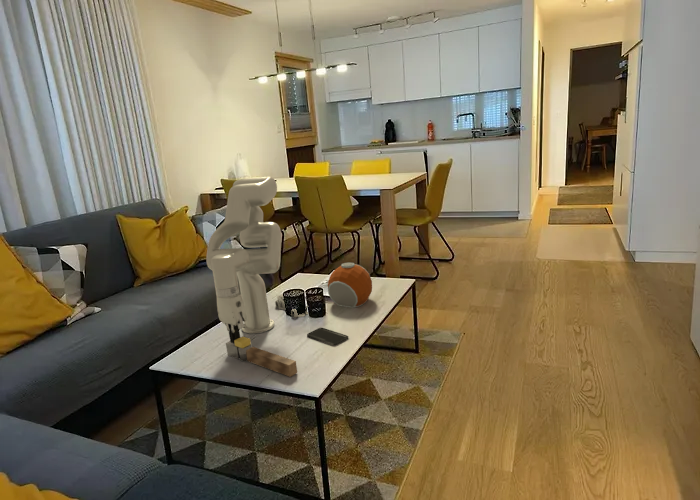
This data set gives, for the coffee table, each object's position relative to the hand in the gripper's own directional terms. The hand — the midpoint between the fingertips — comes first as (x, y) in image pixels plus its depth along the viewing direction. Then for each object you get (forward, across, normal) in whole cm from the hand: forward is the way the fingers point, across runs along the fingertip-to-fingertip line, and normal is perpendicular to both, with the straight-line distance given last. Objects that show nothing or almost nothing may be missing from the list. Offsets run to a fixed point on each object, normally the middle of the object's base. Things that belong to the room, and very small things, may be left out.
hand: (235, 341), depth 162 cm
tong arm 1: (+5, -17, +1) cm, 18 cm away
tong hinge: (+5, -2, 0) cm, 6 cm away
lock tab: (+1, -4, 0) cm, 4 cm away
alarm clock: (+6, -4, -58) cm, 59 cm away
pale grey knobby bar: (+6, +15, -42) cm, 45 cm away
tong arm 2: (+5, -17, -1) cm, 18 cm away
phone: (+6, -18, -26) cm, 33 cm away
